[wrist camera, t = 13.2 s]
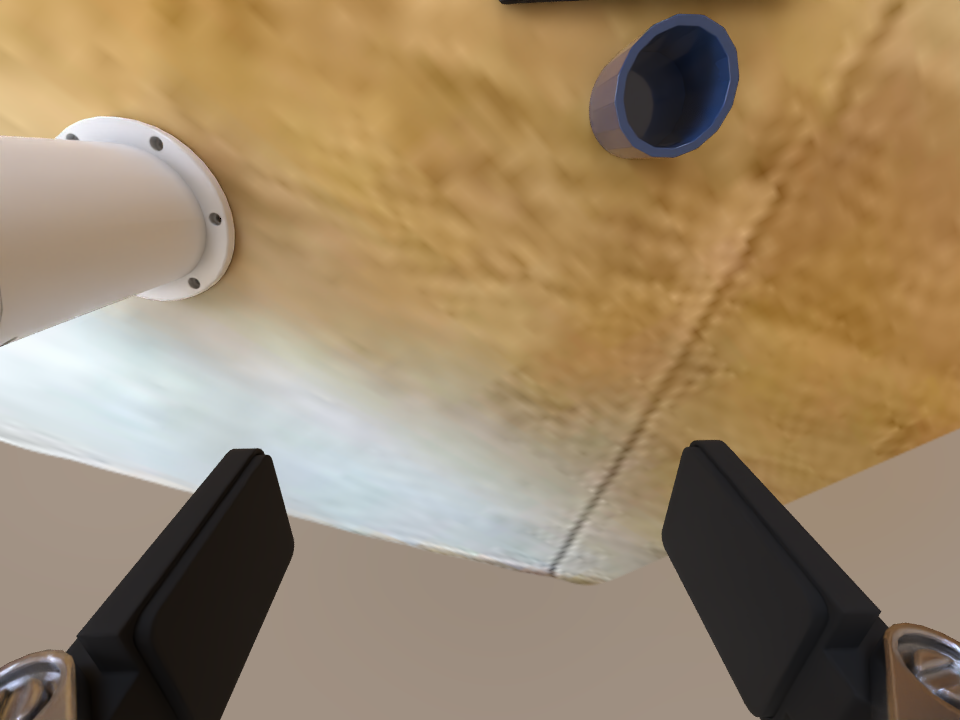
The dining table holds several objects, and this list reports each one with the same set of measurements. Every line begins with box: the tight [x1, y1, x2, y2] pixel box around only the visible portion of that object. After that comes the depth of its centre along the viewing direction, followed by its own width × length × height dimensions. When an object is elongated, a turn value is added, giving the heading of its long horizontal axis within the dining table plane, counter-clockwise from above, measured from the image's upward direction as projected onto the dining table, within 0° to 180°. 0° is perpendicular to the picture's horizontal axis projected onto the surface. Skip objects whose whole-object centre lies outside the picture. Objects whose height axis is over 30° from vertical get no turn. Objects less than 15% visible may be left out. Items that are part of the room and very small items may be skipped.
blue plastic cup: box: [589, 14, 739, 159], centre depth 25 cm, size 7×7×6 cm
